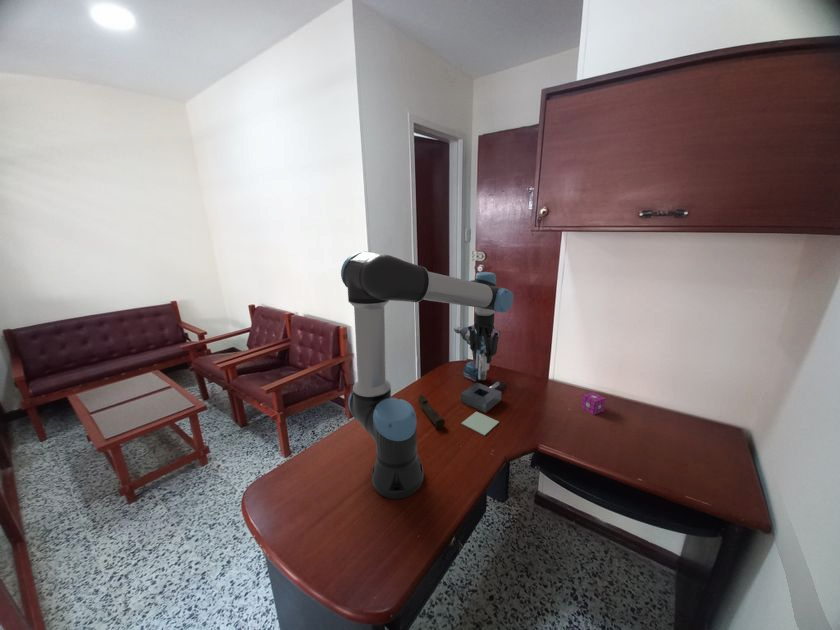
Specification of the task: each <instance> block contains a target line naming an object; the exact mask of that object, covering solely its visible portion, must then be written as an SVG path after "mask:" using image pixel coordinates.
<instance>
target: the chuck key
mask: <svg viewBox="0 0 840 630" xmlns="http://www.w3.org/2000/svg"><path fill="white" fill-rule="evenodd" d="M477 354H479V368H478V379H479V380H480V381H486V380H487V371H484V357H485V355H486V346H485V345H484V346H483V347H481V348H479V349H477Z"/></svg>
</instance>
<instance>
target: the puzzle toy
mask: <svg viewBox="0 0 840 630" xmlns="http://www.w3.org/2000/svg"><path fill="white" fill-rule="evenodd" d="M605 404H606V398H605V397H604V396H601V395H600V394H598V393H596V392H593V391H592V392H588V393H585V394H582V397H581V403H580V408H581V409H583V410H585V411H586V412H588V413H590V414H591V415H592V416H594V415H597V414H600V413H603V412H604V411H605V407H606V406H605Z"/></svg>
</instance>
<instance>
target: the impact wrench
mask: <svg viewBox="0 0 840 630" xmlns="http://www.w3.org/2000/svg"><path fill="white" fill-rule="evenodd" d="M468 327H469V326H466V327H465V326H464V327H461V326H458V325H455V326H454V328H453V331H454V332H455V333H456V334H459V335H460V336H461V338H462V339H463V340H464V341H466V344H468V345H469V346H470V332H469V329H468ZM475 332H476V334H477V331H476V329H475ZM492 338H493V335H491V345H492ZM484 345H485V339H484V336H482V341H481V346H480V348H481V347H483V346H484ZM471 354H472V359H473V360H470V361H468V362H466V364H465V367H463V370H462V376H463V378H465V379H468V380H470V381H471V382H475V383H479V382H480V381H481V380H479V379H478V368H476V359H475V358H474V357H475V352H474V350H471Z"/></svg>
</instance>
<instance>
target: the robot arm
mask: <svg viewBox="0 0 840 630" xmlns="http://www.w3.org/2000/svg"><path fill="white" fill-rule="evenodd" d="M340 276H341V281H342V283H343V284H344V286H345V287H346V288H347V300H348V303H350V305H351V306H353V307H354V308H353V310H354V329H355V333H354V334H355V351H356V353H355V354H356V357H355V358H356V373H357V381H356V382H355V383H354V384H353V385H352V392H350V395H349V396H348V400H347V401H348V402H347V404H348V405H347V406H348V410H349V411H350V413H351V415H352V417H353V418H354V420H356V422H358V423H359V425H361V427H363V429H364V430H365V431H366V432H367V433H368V434H369V435H370V437H371V438H372V439H373V440H374V442H375V452H376V453H375V454H376V458H375V461H374V466H373V468H372V472H371V480H372V481H371V482H372V485H373V488H374V490H375V491H376V493H378V494H379V495H380V496H382V497H384V498H387V499H393V500H398V499H404V498H408V497H411V496H412V495H413V494H415V493H416V492H417V491H418V490H419V489H420V488H421V486H422V485H423V482H424V467H423V464H422V462H421V459H420V457H419V455H418V442H417V441H418V440H417V439H418V438H417V427H418V425H417V424H418V421H417V416H416V410H415V408H414V406H413V405H412V404H411V403H410V402H409V401H406V400H404V399H403V398H400V399H398V398H397V397H392V390H391V389H392V386H391V383H390V381H389V380H387V379H386V376H387V375H386V373H387V372H386V336H385V335H386V334H385V333H386V332H385V331H386V329H385V325H386V324H385V322H386V321H385V306H386V304H388V303H389V301H393V302H408V303H409V302H411V303H419V302H421V301H423V300H424V301H429V302H436V303H437V302H438V303H443V304H444V303H446V304H452V305H459V306H464V307H472V308H473V307H474V317H473V319H474V320H473V321H474V324H471V325H469V326H467V327H468V329H469V332H470V345H469V349H470V350H471V351H472V350H474V352H475V357H474V358H475V359H476V368H479V354H477V349H479V348H480V346H481V341H482V336H484V339H485V346H486V355H485V357H484V371H486V372H488V371H489V370H490V363H491V362H492V357H493V356H495V355H497V352H498V344H499V337H500V335H501V331H497V329H495V325H494V324H495V316H496V315H495V312H499V313H506V312H508V311H509V310H510V309H511V308H512V306H513V302H514V294H513V292H512V291H511V290H510V289H508V288H504V287H498V286H497V275H496V273H495V272H490V271H481V272H479V271H478V272H476V274H475V278H474V279H472V280H468V279H464V278H458V277H455V276H454V277H453V276H449V275H444V274H440V273H437V272H432V271H428V269H427V268H426V267H424V266H423V265H417V264H415V263H413V262H412V263H411V262H410V261H406V260H403V259H401V258H399V257H396V256H393V255H389V254H385V253H384V254H383V253H377V252H372V251H358V252H355V253H354V252H353V253H352V254H351V255H349V256H348V257H347V258H346V259H345V261H343V264H342V266H341V270H340ZM475 329H476V331H477V334H476V332H475ZM491 336H492V337H493V338H492V345H491Z"/></svg>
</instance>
